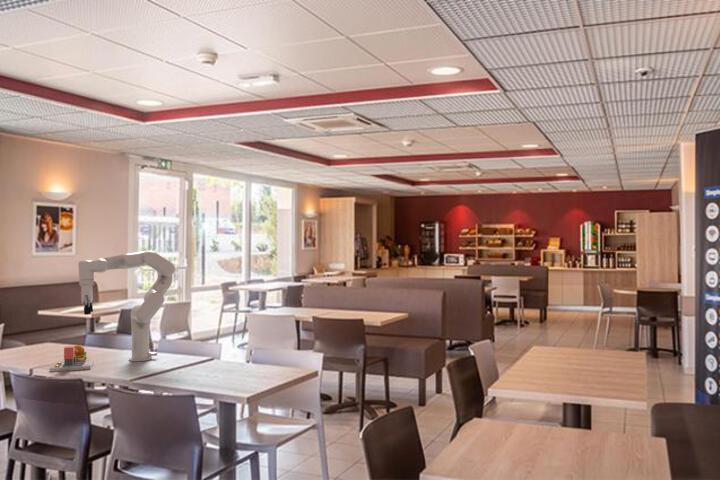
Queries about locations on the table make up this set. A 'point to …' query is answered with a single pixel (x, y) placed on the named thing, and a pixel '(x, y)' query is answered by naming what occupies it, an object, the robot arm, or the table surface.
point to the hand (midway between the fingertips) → (88, 313)
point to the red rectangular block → (69, 352)
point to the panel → (71, 366)
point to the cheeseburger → (80, 353)
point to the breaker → (69, 361)
